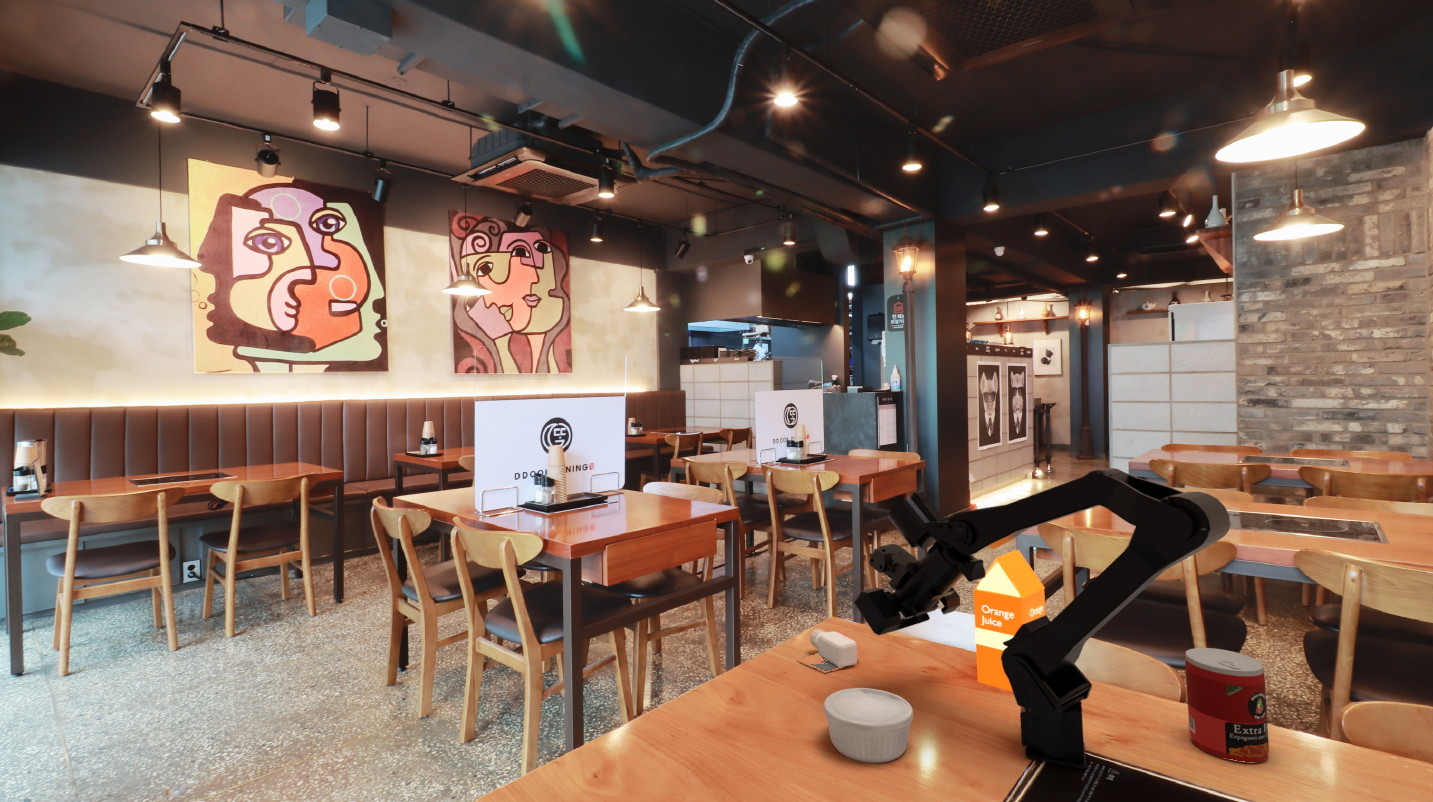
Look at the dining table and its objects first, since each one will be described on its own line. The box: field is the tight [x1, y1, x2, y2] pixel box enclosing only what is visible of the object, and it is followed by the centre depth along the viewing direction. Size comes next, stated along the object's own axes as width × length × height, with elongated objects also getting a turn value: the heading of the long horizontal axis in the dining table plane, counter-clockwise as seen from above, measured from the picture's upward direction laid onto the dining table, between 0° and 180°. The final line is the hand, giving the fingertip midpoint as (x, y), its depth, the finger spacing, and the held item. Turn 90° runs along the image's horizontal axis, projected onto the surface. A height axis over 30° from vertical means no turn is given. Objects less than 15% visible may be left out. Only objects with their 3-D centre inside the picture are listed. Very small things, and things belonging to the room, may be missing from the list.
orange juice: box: [973, 549, 1046, 693], centre depth 102 cm, size 8×9×20 cm
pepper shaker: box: [809, 628, 858, 668], centre depth 113 cm, size 4×4×10 cm
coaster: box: [811, 658, 859, 671], centre depth 112 cm, size 7×8×1 cm
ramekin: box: [823, 687, 914, 764], centre depth 83 cm, size 11×11×5 cm
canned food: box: [1184, 647, 1270, 763], centre depth 80 cm, size 8×8×11 cm
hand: (880, 631), depth 102 cm, fingers closed
